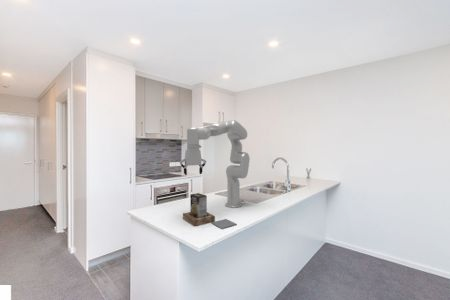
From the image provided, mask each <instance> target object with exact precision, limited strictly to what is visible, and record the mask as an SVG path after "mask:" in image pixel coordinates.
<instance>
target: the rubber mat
mask: <svg viewBox="0 0 450 300" xmlns="http://www.w3.org/2000/svg"><path fill="white" fill-rule="evenodd" d="M237 224H238V223H236V222H234V221H231V220H229V219H227V218H224V219H219V220H215V222H211V225H213V226H215V227H217V228H218V229H220V230H225V229H227V228H232V227H235V226H237Z"/></svg>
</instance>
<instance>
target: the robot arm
mask: <svg viewBox="0 0 450 300" xmlns="http://www.w3.org/2000/svg"><path fill="white" fill-rule="evenodd" d="M223 134H227V135H226V136H227V138H228V140H229V141H230V143H231V147H230V148H231V149H230V158H229V160H230V163H231V165H228V166H227V167H226V169H225V174H226V179H227V181H226V182H227V186H226V189H227V194H226V196H227V202H226V203H225V206H226V207H228V208H233V209H234V208H240V207H242V203H243V202H245V199H242V198H240V196H241V195H240V193H241V192H240V188H241V187H240V186H241V184H240V180H239V179H246V178H247V176H248V173H249V166H250V160H251V159H250V155H249V153H248V152H246V151H243V144H242V142H241V141H243V140H246V139H247V137H248V131H247V129H246V128H245V127H244V126H243V125H242V124H241V123H240V122H239V121H237V120H225V121H221V122H216V123H211V124H209V125H205V126H199V127H188V128H187V129H186V149H185V152H184V159H182V160H180V161H179V162H178V163H179V165H180V167H182V168H183V174H184V175H185V176H187V175H188V169H187V168H188V166H198V167H199V168H198V169H199V173H198V174H200V175H202V174H203V168H204V167H205V166H206V163H207V160H205V159H204V158H202V154H201V149H200V148H202V145H200V141H204V140H209V138H210V137H217V136H221V135H223ZM202 162H203V163H202ZM183 163H184V164H183ZM235 164H236V165H235ZM237 164H238V165H237Z"/></svg>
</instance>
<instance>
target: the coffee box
mask: <svg viewBox="0 0 450 300" xmlns="http://www.w3.org/2000/svg"><path fill="white" fill-rule="evenodd" d="M207 198H208V197H207V195H206V194H203V193H200V192H198V193H192V194H190V212H191V216H193V217H194V218H196V219H198V218H202V217H207V211H208V209H207V202H208V201H207Z"/></svg>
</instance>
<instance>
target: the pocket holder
mask: <svg viewBox="0 0 450 300" xmlns="http://www.w3.org/2000/svg"><path fill="white" fill-rule="evenodd" d="M182 219H183V220H184V221H185V222H187V223H188V224H190V225H191V226H193V227H198V226H202V225H207V224H210V223H211V222H215V221H216V217H215V215H214V214H211V213H210V212H207V217H202V218H198V219H196V218H194V217H193V216H191V211H188V212H183V213H182Z"/></svg>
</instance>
